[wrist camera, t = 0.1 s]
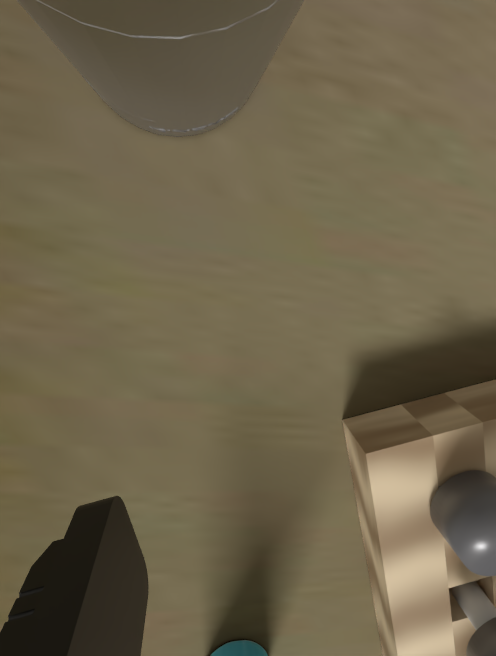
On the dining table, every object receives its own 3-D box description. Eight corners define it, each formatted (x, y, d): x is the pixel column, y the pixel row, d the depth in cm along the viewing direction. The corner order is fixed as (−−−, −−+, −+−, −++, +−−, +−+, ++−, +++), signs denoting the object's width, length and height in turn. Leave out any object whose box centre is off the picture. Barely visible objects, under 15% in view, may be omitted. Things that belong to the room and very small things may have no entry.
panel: (342, 419, 28) (365, 453, 24) (571, 359, 29) (628, 383, 25) (389, 692, 36) (412, 750, 32) (568, 638, 37) (612, 688, 33)
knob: (397, 446, 29) (456, 518, 22) (462, 429, 29) (540, 494, 23) (404, 503, 30) (462, 585, 24) (467, 485, 30) (541, 562, 24)
